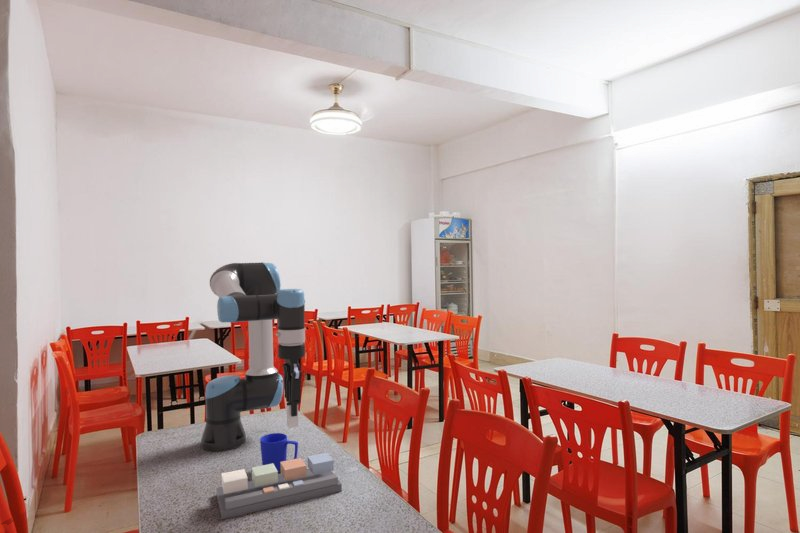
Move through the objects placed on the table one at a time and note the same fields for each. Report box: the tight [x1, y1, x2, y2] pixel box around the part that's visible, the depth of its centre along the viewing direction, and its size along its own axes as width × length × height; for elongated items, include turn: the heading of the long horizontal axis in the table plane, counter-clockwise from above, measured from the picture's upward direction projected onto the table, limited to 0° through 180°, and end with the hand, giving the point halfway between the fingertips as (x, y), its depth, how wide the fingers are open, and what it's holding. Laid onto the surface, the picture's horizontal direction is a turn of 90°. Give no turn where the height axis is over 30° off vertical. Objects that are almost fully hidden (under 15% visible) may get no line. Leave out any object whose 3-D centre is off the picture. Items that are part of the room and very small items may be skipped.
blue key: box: [307, 452, 335, 475], centre depth 139 cm, size 6×6×3 cm
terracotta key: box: [280, 457, 307, 481], centre depth 136 cm, size 6×6×3 cm
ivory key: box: [220, 468, 249, 494], centre depth 129 cm, size 6×6×3 cm
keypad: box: [215, 468, 343, 520], centre depth 134 cm, size 14×32×4 cm, turn 116°
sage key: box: [251, 463, 279, 487], centre depth 132 cm, size 6×6×3 cm
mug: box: [259, 432, 299, 473], centre depth 149 cm, size 8×12×10 cm
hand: (292, 425), depth 136 cm, fingers closed
